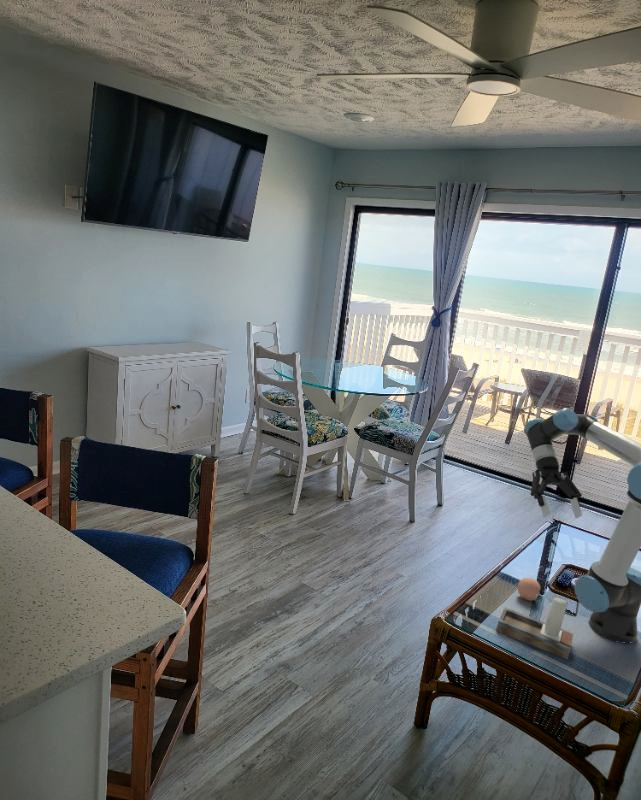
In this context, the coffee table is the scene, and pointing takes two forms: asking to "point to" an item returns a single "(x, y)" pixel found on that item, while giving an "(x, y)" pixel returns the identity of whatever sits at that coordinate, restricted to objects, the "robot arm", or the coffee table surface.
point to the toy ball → (528, 588)
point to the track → (533, 632)
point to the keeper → (554, 620)
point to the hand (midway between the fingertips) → (563, 516)
